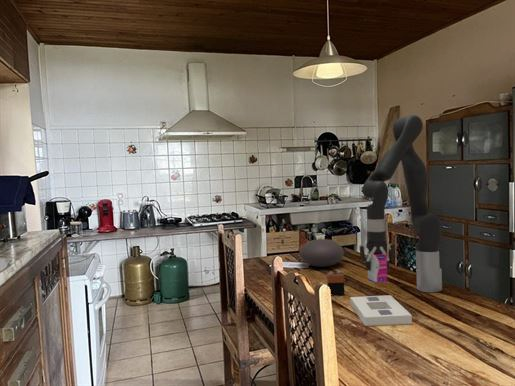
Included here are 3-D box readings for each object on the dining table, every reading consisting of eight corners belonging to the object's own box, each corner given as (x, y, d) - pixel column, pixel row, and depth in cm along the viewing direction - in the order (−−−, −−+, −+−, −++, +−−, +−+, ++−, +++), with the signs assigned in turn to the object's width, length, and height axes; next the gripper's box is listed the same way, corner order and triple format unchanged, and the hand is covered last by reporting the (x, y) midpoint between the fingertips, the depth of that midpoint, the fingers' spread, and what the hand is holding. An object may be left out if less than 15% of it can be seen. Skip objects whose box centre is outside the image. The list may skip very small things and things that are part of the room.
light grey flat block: (390, 302, 157) (390, 294, 157) (411, 323, 135) (411, 314, 135) (350, 304, 157) (350, 296, 157) (365, 326, 136) (364, 316, 135)
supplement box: (375, 283, 160) (374, 255, 159) (367, 279, 165) (366, 252, 165) (387, 282, 161) (387, 254, 160) (379, 278, 167) (379, 251, 166)
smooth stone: (291, 264, 229) (290, 239, 229) (327, 258, 240) (326, 234, 239) (315, 273, 207) (314, 245, 206) (353, 266, 217) (352, 239, 217)
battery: (344, 295, 169) (343, 272, 169) (328, 296, 170) (327, 273, 169) (343, 292, 173) (342, 270, 173) (327, 292, 174) (326, 270, 173)
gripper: (390, 227, 166) (391, 266, 167) (356, 229, 166) (357, 268, 167) (396, 230, 158) (397, 271, 159) (360, 231, 158) (362, 272, 159)
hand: (377, 269), depth 163 cm, fingers closed on supplement box, 6 cm apart
